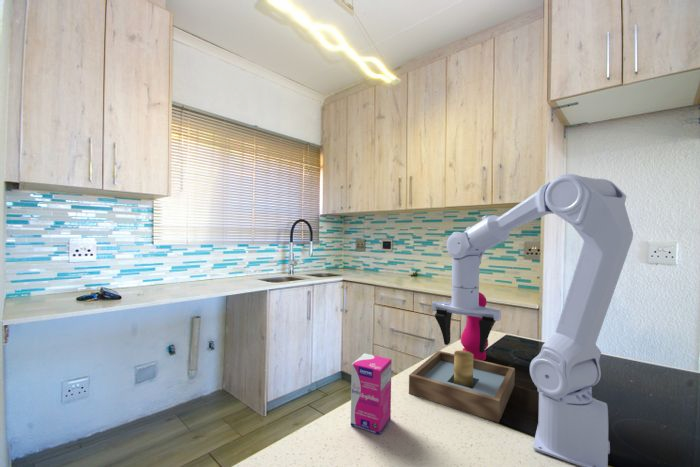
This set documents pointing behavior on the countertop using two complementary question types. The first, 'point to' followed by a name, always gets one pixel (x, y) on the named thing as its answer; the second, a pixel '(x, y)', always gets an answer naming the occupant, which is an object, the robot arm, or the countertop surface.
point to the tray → (460, 396)
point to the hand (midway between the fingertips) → (464, 347)
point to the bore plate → (481, 379)
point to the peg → (463, 368)
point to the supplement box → (371, 393)
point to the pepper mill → (474, 334)
